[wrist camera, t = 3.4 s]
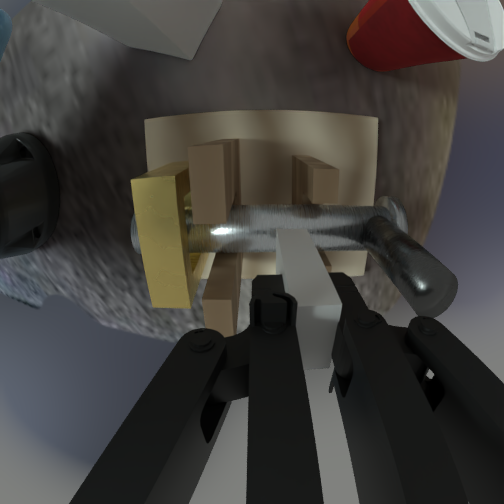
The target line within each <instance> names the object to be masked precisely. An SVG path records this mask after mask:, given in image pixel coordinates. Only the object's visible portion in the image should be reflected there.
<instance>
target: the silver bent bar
mask: <svg viewBox="0 0 504 504" xmlns="http://www.w3.org/2000/svg"><path fill="white" fill-rule="evenodd" d="M185 215H186V225H187V235H188V244H189V253H238V252H276V232H277V229H307V230H308V232H309V234H310V236H311V238H312V241H313V243H314V245H315V247H316V249H317V251H368V252H369V253H370V255H371V256H372V257H373V258H374V259H375V261H376V262H377V263H378V264H379V266H380V267H381V268H382V269H383V271H384V272H385V273H386V274H387V276H388V277H389V278H390V279H391V281H392V282H393V283H394V285H395V286H396V287H397V288H398V290H399V291H400V292H401V294H402V295H403V296H404V298H405V299H406V300H407V302H408V303H409V304H410V306H411V307H412V308H413V310H414V311H415V312H416V314H417V315H418V316H427V317H431V318H434V317H437V316H439V315H440V314H442V313H443V312H444V311H445V310H446V309H447V308H448V307H449V306H450V305H451V303H452V302H453V300H454V298H455V296H456V293H457V289H458V282H457V278H456V276H455V275H454V274H453V273H452V272H451V271H450V270H449V269H448V268H446V267H445V266H444V265H443V264H442V263H441V262H440V261H439V260H437V259H436V258H435V257H434V256H433V255H432V254H430V253H429V252H428V251H427V250H426V249H425V248H423V247H422V246H421V245H420V244H419V243H417V242H416V241H415V240H414V239H413V238H411V237H410V236H409V235H408V223H407V216H406V212H405V209H404V206H403V205H402V203H401V201H400V200H399V199H398V198H396V197H391V196H381V197H379V198H378V199H377V200H376V202H375V204H374V206H362V205H317V204H262V205H232V207H231V210H230V214H229V217H228V220H227V224H195V225H193V214H192V206H190V207H185ZM131 240H132V244H133V247H134V249H135V251H136V252H137V253H139V254H142V253H141V248H140V242H139V236H138V230H137V224H136V217H135V213H134V215H133V218H132V222H131Z"/></svg>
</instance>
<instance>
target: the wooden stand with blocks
mask: <svg viewBox="0 0 504 504" xmlns="http://www.w3.org/2000/svg"><path fill="white" fill-rule="evenodd" d="M144 121H145V140H146V155H147V167H148V172H149V171H151V170H154V169H156V168H159V167H161V166H163V165H166V164H168V163H171V162H178V161H189V175H190V189H191V202H192V214H193V225H195V224H227V220H228V217H229V214H230V210H231V207H232V205H262V204H317V205H362V206H373V204H374V193H375V181H376V166H377V145H378V118H376V117H369V116H361V115H352V114H342V113H331V112H317V111H297V110H237V111H217V112H204V113H192V114H182V115H174V116H166V117H158V118H151V119H145V120H144ZM367 252H368V251H318V253H319V255H320V257H321V259H322V261H323V263H324V265H325V268H326V270H327V272H343V273H345V274H346V275H347V276H364V271H365V265H366V258H367ZM257 275H276V252H238V253H209V256H208V259H207V262H206V265H205V268H204V270H203V273H202V276H201V279H208V280H207V284H206V287H205V291H204V294H203V297H202V304H203V311H204V319H205V326H206V328H207V329H213V330H216V331H218V332H219V333H221V334H222V335H223V336H224V337H229V336H233V335H236V331H237V319H238V308H239V297H240V285H241V279H254V278H255V277H256V276H257Z"/></svg>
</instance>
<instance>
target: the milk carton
mask: <svg viewBox="0 0 504 504" xmlns="http://www.w3.org/2000/svg"><path fill="white" fill-rule="evenodd" d="M32 2H35V3H37V4H40V5H42V6H45V7H47V8H50V9H52V10H55V11H57V12H59V13H62V14H64V15H66V16H68V17H71V18H73V19H75V20H77V21H79V22H81V23H84V24H86V25H88V26H90V27H92V28H94V29H96V30H98V31H100V32H102V33H104V34H106V35H107V36H109V37H111V38H113V39H115V40H117V41H119V42H120V43H122V44H124V45H126V46H128V47H132V48H138V49H143V50H148V51H153V52H158V53H162V54H167V55H171V56H175V57H179V58H183V59H187V60H192V59H193V57H194V55H195V53H196V51H197V49H198V47H199V45H200V43H201V41H202V39H203V38H204V36H205V34H206V32H207V30H208V28H209V26H210V24H211V23H212V21H213V19H214V17H215V15H216V14H217V12H218V10H219V9H220V7H221V5H222V0H32Z"/></svg>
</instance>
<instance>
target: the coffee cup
mask: <svg viewBox="0 0 504 504" xmlns="http://www.w3.org/2000/svg"><path fill="white" fill-rule="evenodd" d="M346 39H347V45H348V48H349V50H350V52H351V53H352V55H353V56H354V57H355V59H356V60H357V61H358V62H360V63H361V64H362V65H364V66H365V67H367V68H369V69H372V70H375V71H391V70H396V69H401V68H406V67H411V66H416V65H422V64H428V63H435V62H443V61H452V60H458V59H465V58H469V59H472V60H475V61H481V62H482V61H483V62H484V61H485V62H486V61H489V60H492V59H493V58H495V57H496V56H497V54H498V53H499V52H500V51H501V50H503V49H504V10H503V7H502V5H501V3H500V1H499V0H369V1H368V2H367V4H366V5H365V6H364V8H363V9H362V10H361V12H360V13H359V14H358V15H357V17H356V18H355V20H354V21H353V22H352V24H351V25H350V27H349V29H348V32H347V37H346Z"/></svg>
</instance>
